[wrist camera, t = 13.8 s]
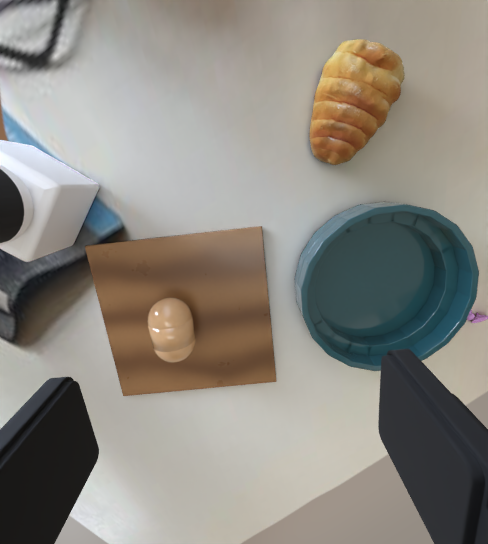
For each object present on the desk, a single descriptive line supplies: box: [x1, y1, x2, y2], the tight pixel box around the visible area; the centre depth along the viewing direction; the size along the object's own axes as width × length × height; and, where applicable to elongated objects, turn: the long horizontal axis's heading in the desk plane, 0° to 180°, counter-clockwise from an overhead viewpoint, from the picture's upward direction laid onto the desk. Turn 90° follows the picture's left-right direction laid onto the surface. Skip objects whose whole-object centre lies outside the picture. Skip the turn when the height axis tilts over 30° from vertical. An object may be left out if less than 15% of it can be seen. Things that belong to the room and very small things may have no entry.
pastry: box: [309, 39, 404, 165], centre depth 26 cm, size 9×7×4 cm
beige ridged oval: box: [147, 297, 196, 363], centre depth 32 cm, size 7×4×4 cm, turn 6°
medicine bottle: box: [0, 140, 99, 262], centre depth 25 cm, size 7×7×12 cm
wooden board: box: [85, 226, 276, 396], centre depth 34 cm, size 18×18×1 cm
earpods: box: [467, 310, 488, 323], centre depth 34 cm, size 3×2×2 cm
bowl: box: [295, 202, 479, 371], centre depth 31 cm, size 16×16×4 cm
